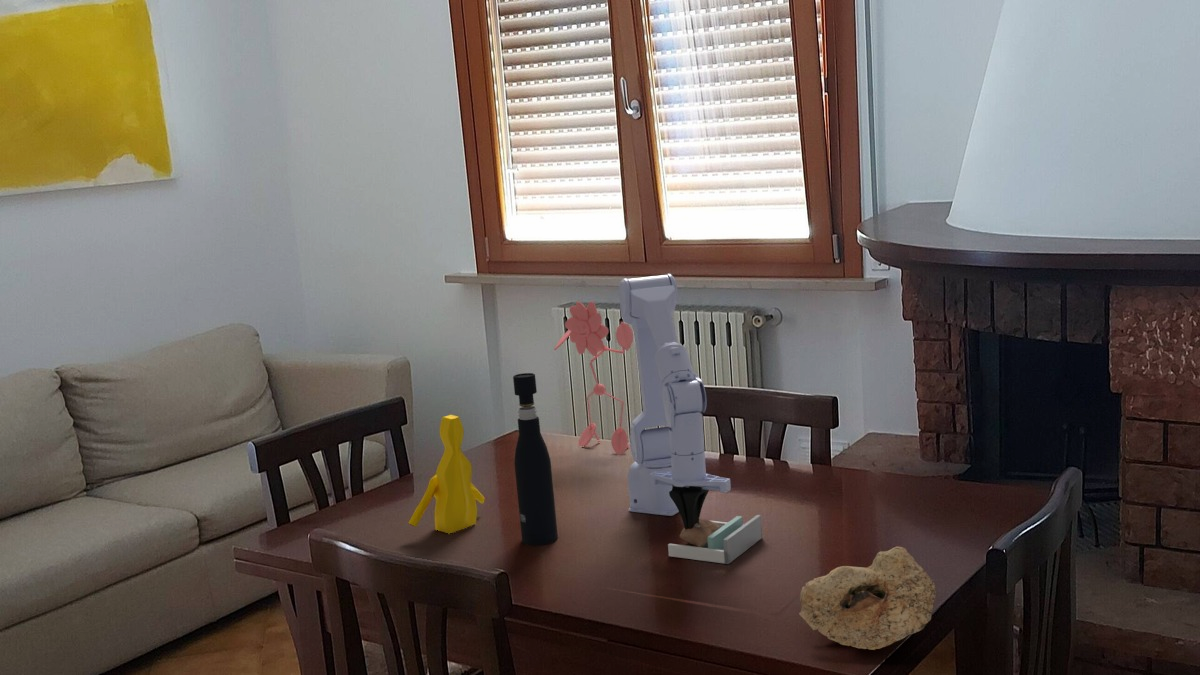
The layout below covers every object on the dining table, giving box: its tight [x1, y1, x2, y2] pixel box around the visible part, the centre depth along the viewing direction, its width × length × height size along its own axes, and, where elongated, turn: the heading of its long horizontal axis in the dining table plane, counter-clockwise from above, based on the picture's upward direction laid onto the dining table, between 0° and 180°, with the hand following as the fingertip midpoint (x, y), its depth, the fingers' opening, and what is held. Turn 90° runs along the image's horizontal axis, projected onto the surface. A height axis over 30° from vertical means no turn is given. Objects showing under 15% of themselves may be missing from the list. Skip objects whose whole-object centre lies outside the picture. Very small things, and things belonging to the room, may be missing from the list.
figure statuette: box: [407, 414, 486, 535], centre depth 215 cm, size 18×8×22 cm, turn 135°
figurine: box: [553, 300, 634, 455], centre depth 257 cm, size 15×26×35 cm, turn 44°
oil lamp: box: [679, 518, 721, 548], centre depth 197 cm, size 9×4×8 cm
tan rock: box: [798, 546, 937, 651], centre depth 159 cm, size 18×14×8 cm
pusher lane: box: [667, 514, 763, 565], centre depth 196 cm, size 11×13×4 cm
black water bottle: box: [512, 372, 559, 547], centre depth 205 cm, size 6×6×30 cm
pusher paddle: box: [707, 515, 744, 550], centre depth 195 cm, size 1×11×4 cm, turn 148°
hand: (692, 528), depth 198 cm, fingers closed, pressing on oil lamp
